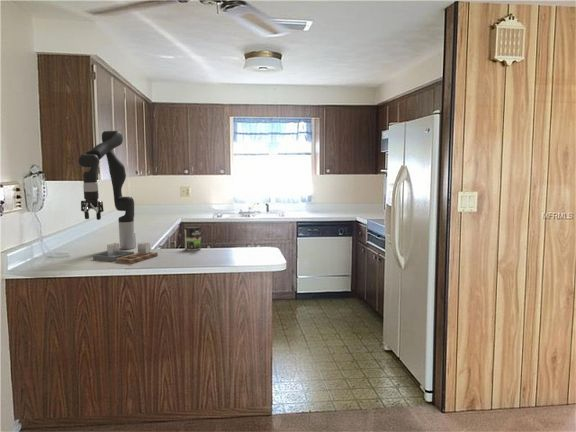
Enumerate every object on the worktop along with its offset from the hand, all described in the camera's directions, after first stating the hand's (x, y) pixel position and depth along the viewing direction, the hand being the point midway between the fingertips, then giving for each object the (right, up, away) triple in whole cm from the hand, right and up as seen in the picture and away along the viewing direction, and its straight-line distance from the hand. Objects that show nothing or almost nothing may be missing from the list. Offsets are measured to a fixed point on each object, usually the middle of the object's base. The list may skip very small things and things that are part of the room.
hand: (92, 219), depth 264 cm
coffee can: (+49, -19, +36) cm, 64 cm away
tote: (+10, -23, +5) cm, 26 cm away
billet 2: (+27, -22, +7) cm, 35 cm away
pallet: (+25, -23, +2) cm, 34 cm away
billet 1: (+10, -22, +5) cm, 25 cm away
